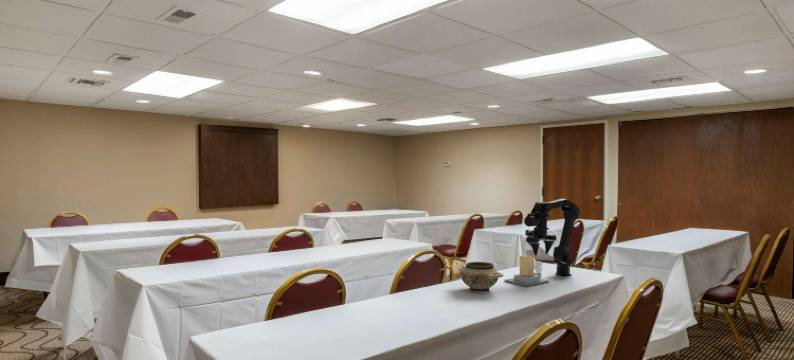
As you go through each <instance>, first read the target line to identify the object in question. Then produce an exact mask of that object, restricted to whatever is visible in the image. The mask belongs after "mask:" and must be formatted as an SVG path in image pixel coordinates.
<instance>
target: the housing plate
mask: <svg viewBox="0 0 794 360" xmlns="http://www.w3.org/2000/svg"><path fill="white" fill-rule="evenodd" d="M504 283H508V284H513V285H515V286H520V287H524V288H529V287H534V286H538V285H543V284H548V283H550V280H548V279H543V278H540V276H538V274H534V276H533V277H523V276H520V273H518V274H517V273H516V274H514V275H513V277H512V278H507V279H504Z"/></svg>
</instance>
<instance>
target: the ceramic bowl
mask: <svg viewBox="0 0 794 360" xmlns="http://www.w3.org/2000/svg"><path fill="white" fill-rule="evenodd" d="M494 266H495V265H494V264H493V262H488V261H469V262H466V263H465V265H462V266H458V268H457V269H458V271H459V272H460V278H461V280H462V282H463V283H464V284H465V285H466V286H467V287H469V291H471V292H473V293H478V294H479V293H481V294H482V293H488V292H490V288H492V287H494V286H495V285H496V284H497V283H498V281H499V279H500V278H503V277H504V274H503V273H502V272H499V271H498V270H497V269H495V268H494Z"/></svg>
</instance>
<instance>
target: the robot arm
mask: <svg viewBox="0 0 794 360" xmlns="http://www.w3.org/2000/svg"><path fill="white" fill-rule="evenodd" d="M559 208H560V210H561V211H562V213H563V214H562V216H563V220H564V223H563V227H562V231H561V234H560V239H559V244H558V245H557V246H554V248H553V252H552V256H553V257H552V258H553V262H554V263H555V264H556V272H555V273H554V274H555V275H558V276H561V277H567V276H572V273H571V266H572V265H574V260H573V258H572V257H571V251H570V248H569V246H570V241H571V237H572V232H573V229H574V223H575V222H576V221H577V220H578V219H579V216H580V214H581V213H580V212H581V210H580V208H579V206H577V205H576V204H575V203H573V202H572V201H571V200H570V199H568V198H558V199H554V200H552V201H548V202H547V201H546V202H545V201H537V202H535V203H534V205H533V207H532V209H531V211H530V212H529V213H526V214H527V215H526V216H525V217H524V221H523V222H524V225H525V226H526V227H533V230H531V229H526V230H525V231H524V234H525V236H526V238H525V243H527V244H529V245H530V246H531V248H532V251H533V256H538V253H539V248H540V245H541V244H540V241H543V243H544V250H545V255H548V254H549V252H550V250H551V249H552V246H553V245H554V244H555V243H556V241H557V239H558V238H557V236H556V235H555V234H548V231H549V230H550V229H549V227H548V218H549V217H551V216H550V214H549V213H550V212H551V211H552V210H554V209H559Z"/></svg>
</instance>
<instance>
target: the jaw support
mask: <svg viewBox="0 0 794 360" xmlns="http://www.w3.org/2000/svg"><path fill="white" fill-rule="evenodd" d="M543 268H544V267H543V264H542V262H541V260H539V261H538V260H536V259H535V258H534V271H535V272H536V273H537V274H536V275H537V276H539V277H542V271H543Z"/></svg>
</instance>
